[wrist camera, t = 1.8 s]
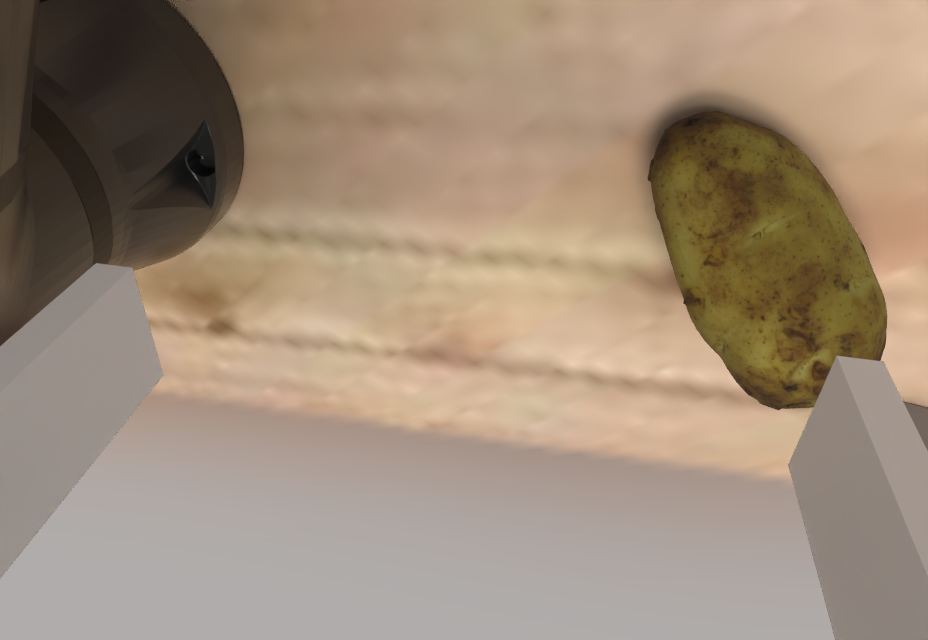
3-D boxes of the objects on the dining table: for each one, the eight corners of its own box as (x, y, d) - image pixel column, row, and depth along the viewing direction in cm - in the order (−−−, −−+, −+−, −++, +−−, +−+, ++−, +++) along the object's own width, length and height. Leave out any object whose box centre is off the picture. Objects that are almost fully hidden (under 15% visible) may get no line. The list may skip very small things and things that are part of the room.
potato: (846, 58, 28) (910, 127, 22) (859, 315, 35) (912, 428, 28) (637, 112, 31) (640, 189, 25) (685, 342, 37) (698, 449, 31)
